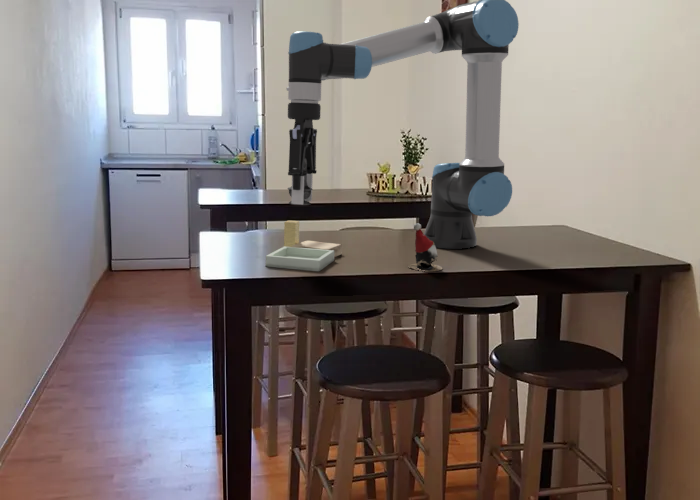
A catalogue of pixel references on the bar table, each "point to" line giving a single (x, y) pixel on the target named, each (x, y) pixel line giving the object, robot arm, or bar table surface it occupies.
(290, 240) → the block
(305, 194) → the salt shaker
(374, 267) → the bar table surface
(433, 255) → the figurine
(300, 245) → the beige rectangular block
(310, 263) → the tray
